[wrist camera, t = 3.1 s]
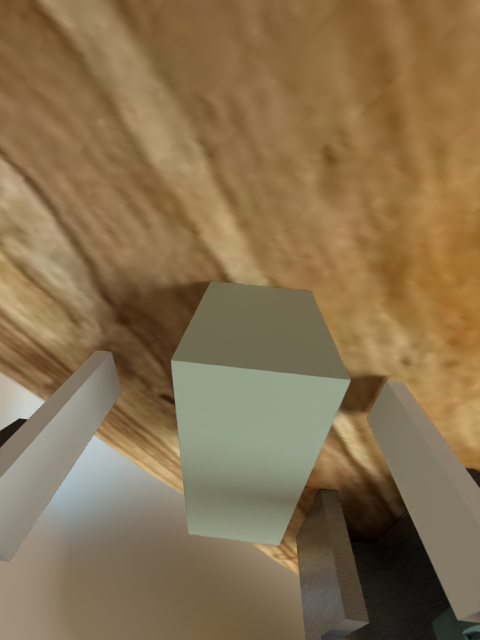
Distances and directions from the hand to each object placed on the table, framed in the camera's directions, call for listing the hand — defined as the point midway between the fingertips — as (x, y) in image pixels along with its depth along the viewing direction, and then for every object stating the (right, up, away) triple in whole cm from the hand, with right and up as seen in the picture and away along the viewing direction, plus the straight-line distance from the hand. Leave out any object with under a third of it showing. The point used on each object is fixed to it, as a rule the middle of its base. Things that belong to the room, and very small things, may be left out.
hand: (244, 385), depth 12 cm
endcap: (+9, -13, +7) cm, 17 cm away
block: (0, 0, 0) cm, 1 cm away
